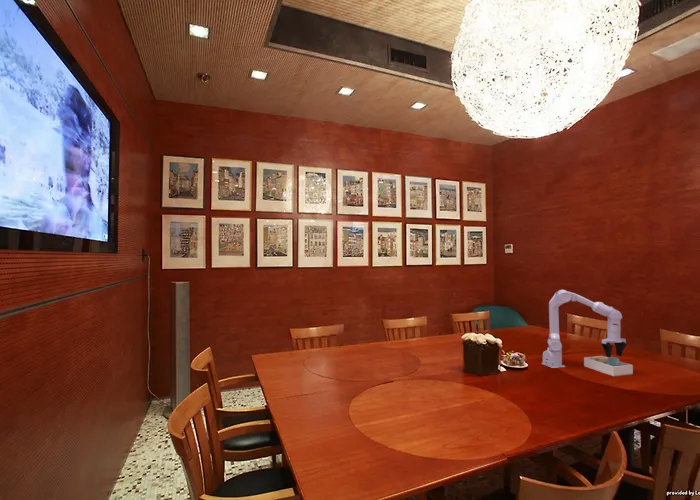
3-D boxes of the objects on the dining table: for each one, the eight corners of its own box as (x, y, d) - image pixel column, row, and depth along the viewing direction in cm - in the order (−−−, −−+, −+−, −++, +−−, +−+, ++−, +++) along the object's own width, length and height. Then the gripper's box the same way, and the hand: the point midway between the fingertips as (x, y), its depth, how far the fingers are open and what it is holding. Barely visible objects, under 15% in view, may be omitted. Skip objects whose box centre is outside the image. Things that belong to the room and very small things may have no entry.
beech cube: (592, 365, 198) (592, 356, 198) (599, 364, 199) (599, 356, 199) (600, 368, 193) (600, 359, 193) (607, 367, 194) (607, 358, 195)
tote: (613, 376, 182) (613, 366, 182) (584, 366, 199) (584, 357, 199) (632, 374, 185) (632, 365, 185) (602, 364, 202) (602, 355, 202)
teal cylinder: (605, 370, 190) (605, 357, 190) (611, 369, 192) (611, 356, 192) (615, 373, 186) (615, 360, 186) (621, 371, 187) (621, 359, 188)
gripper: (610, 333, 183) (610, 359, 183) (631, 332, 187) (631, 357, 187) (598, 330, 190) (598, 355, 190) (618, 329, 194) (618, 353, 193)
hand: (613, 356), depth 189 cm, fingers open, 7 cm apart
